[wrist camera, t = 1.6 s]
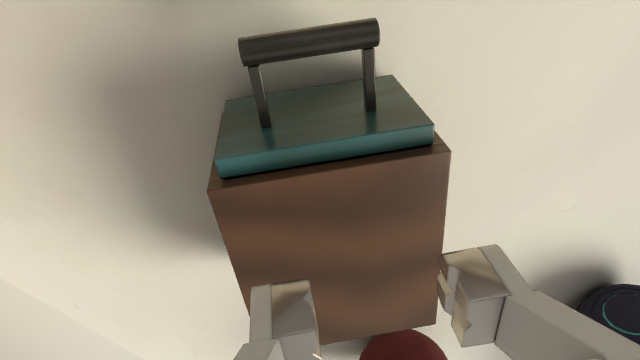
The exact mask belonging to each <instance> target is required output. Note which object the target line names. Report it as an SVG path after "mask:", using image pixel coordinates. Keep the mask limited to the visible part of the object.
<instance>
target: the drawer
mask: <svg viewBox="0 0 640 360" xmlns="http://www.w3.org/2000/svg"><path fill="white" fill-rule="evenodd" d="M379 42H380V30H379V24H378V21H377V19H376V18H369V19H362V20H356V21H349V22H342V23H335V24H329V25H322V26H315V27H308V28H302V29H295V30H288V31H282V32H275V33H268V34H261V35H255V36H248V37H241V38H238V46H239V52H240V57H241V61H242V64H243V66H244V67H246V66H248V71H249V75H250V80H251V84H252V89H253V93H254V96H252V97H246V98H239V99H233V100H226V101H225V107H224V112H223V117H222V123H221V128H220V133H219V139H218V144H217V149H216V154H215V160H214V161H215V164H216V167H217V170H218V173H219V177H220V178H227V177H233V176H239V175H241V177H247V176H253V175H259V174H265V173H271V172H278V171H284V170H290V169H296V168H302V167H308V166H314V165H320V164H326V163H332V162H338V161H345V160H351V159H357V158H363V157H369V156H375V155H381V154H387V153H393V152H399V151H405V150H408V148H410V147H416V146H422V145H429V144H433V141H434V123H433V122H432V121H431V120H430V118H429V117H428V116H427V115H426V114H425V113H424V111H423V110H422V109H421V108H420V107H419V105H418V104H417V103H416V102H415V101H414V100H413V98H412V97H411V96H410V95H409V94H408V93H407V91H406V90H405V89H404V88H403V87H402V86H401V84H400V83H399V82H398V81H397V80H396V78H395V77H394V76H393V75H387V76H381V77H375V49H374V48H373V47H377V46H378V45H379ZM358 49H361V54H362V74H363V79H362V80H355V81H349V82H342V83H336V84H329V85H323V86H317V87H310V88H304V89H297V90H291V91H284V92H278V93H271V94H266V93H265V88H264V83H263V78H262V73H261V68H260V64H266V63H273V62H279V61H286V60H292V59H299V58H305V57H312V56H319V55H325V54H332V53H338V52H345V51H351V50H358Z"/></svg>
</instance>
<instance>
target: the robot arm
mask: <svg viewBox="0 0 640 360" xmlns="http://www.w3.org/2000/svg"><path fill="white" fill-rule="evenodd" d="M438 266H439V268H440V270H441V272H440V273H439V274H438V275H437V281H436V286H437V292H438V296H439V299H440V302H441V304H442V307H443V309H444V311H446V312H447V313H449V314H450V315H452V322H451V326H452V328H453V330H454V332H455V334H456V336H457V338H458V340H459V343H460V345H461V347H469V346H475V345H481V344H488V343H494V342H495V345H496V346H497V347H498V348H500V349H501V350H502V351H503V352H505V353H506V354H507V355H508V356H510V357H511V358H512V359H513V360H640V345H638V344H637V343H635V342H633V341H631V340H629V339H627V338H625V337H624V336H622V335H620V334H618V333H616V332H614V331H613V330H611V329H609V328H607V327H605V326H603V325H601V324H600V323H598V322H596V321H594V320H592V319H590V318H588V317H587V316H585V315H583V314H581V313H579V312H577V311H576V310H574V309H572V308H570V307H568V306H566V305H564V304H563V303H561V302H559V301H557V300H555V299H553V298H551V297H550V296H548V295H546V294H544V293H542V292H540V291H532V289H531V288H530V287H529V285H528V284H527V283H526V281H525V280H524V279H523V277H522V276H521V275H520V273H519V272H518V271H517V269H516V268H515V267H514V265H513V264H512V263H511V261H510V260H509V259H508V257H507V256H506V255H505V253H504V252H503V250H502V249H501V248H500V247H499V246H498V245H496V244H494V245H488V246H483V247H477V248H471V249H465V250H460V251H455V252H449V253H444V254H440V256H439V257H438ZM233 360H322V355H321V348H320V343H319V337H318V327H317V320H316V314H315V308H314V302H313V298H312V292H311V286H310V281H309V278H305V279H298V280H292V281H285V282H278V283H272V284H267V285H260V286H254V287H252V290H251V300H250V337H249V343H247V344H243V346H242V347H241V349H240V350H239V352H238V353H237V355H236V356H235V358H234V359H233Z"/></svg>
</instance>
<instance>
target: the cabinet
mask: <svg viewBox="0 0 640 360" xmlns="http://www.w3.org/2000/svg"><path fill="white" fill-rule="evenodd" d="M222 117H223V113H222ZM222 117H221V122H220V127H219V132H218V137H217V143H216V148H215V153H214V158H213V163H212V168H211V174H210V179H209V183H208V188H207V193H208V196H209V199H210V202H211V205H212V208H213V211H214V214H215V217H216V220H217V223H218V226H219V228H220V231H221V234H222V237H223V240H224V243H225V246H226V249H227V252H228V255H229V258H230V261H231V263H232V266H233V269H234V272H235V275H236V278H237V281H238V284H239V287H240V290H241V293H242V296H243V298H244V301H245V304H246V307H247V310H248V313H249V316H250V300H251V290H252V287H254V286H260V285H267V284H272V283H278V282H285V281H292V280H298V279H305V278H309V281H310V286H311V292H312V298H313V302H314V308H315V314H316V320H317V327H318V337H319V343H320V345H325V344H330V343H336V342H341V341H347V340H352V339H357V338H363V337H368V336H374V335H379V334H385V333H390V332H395V331H401V330H406V329H412V328H417V327H423V326H428V325H433V324H436V313H437V302H438V292H437V286H436V281H437V275H438V274H439V273H440V268H439V266H438V257H439V256H440V254H442V247H443V236H444V226H445V215H446V204H447V193H448V182H449V171H450V160H451V150H450V149H449V148H448V146H447V145H446V144H445V143H444V141H443V140H442V139H441V138H440V137H439V135H438V134H437V133H436V132H435V130H434V141H433V144H429V145H422V146H416V147H410V148H408V150H405V151H399V152H393V153H387V154H381V155H375V156H369V157H363V158H357V159H351V160H345V161H338V162H332V163H326V164H320V165H314V166H308V167H302V168H296V169H290V170H284V171H278V172H271V173H265V174H259V175H253V176H247V177H241V175H239V176H233V177H227V178H220V177H219V173H218V170H217V167H216V164H215V161H214V160H215V154H216V149H217V144H218V139H219V133H220V128H221V123H222Z"/></svg>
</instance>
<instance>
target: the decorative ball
mask: <svg viewBox="0 0 640 360" xmlns="http://www.w3.org/2000/svg"><path fill="white" fill-rule="evenodd" d="M359 360H447V358H446V356H445V354H444V352H443V351H442V350H441V348H440V347H439V346H438V345H437V344H436V343H435V342H434V341H433V340H431V339H430V338H429V337H428V336H426V335H424V334H422V333H420V332H418V331H415V330H412V329H406V330H401V331H395V332H390V333H385V334H379V335H377V336H375V337H374V338H373V339H372V340H371V341H370V342H369V343H368V344H367V345H366V347H365V348H364V350H363V352H362V353H361V356H360V359H359Z"/></svg>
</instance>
